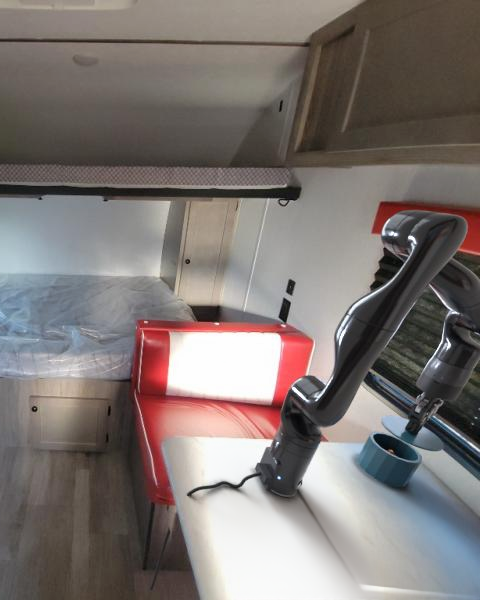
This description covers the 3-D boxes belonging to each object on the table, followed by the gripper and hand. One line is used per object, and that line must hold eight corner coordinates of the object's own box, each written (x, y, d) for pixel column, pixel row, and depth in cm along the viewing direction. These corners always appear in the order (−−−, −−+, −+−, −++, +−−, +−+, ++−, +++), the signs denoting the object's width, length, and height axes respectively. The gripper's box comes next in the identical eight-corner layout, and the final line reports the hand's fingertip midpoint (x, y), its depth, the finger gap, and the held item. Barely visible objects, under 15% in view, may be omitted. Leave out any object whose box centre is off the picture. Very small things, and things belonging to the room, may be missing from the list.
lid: (406, 450, 85) (418, 431, 82) (368, 416, 96) (377, 399, 94) (456, 455, 84) (468, 437, 82) (412, 420, 96) (422, 403, 94)
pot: (376, 486, 95) (392, 460, 92) (347, 454, 106) (360, 429, 102) (416, 490, 95) (433, 464, 92) (383, 457, 106) (397, 433, 102)
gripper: (435, 363, 90) (405, 414, 96) (413, 374, 83) (383, 427, 90) (474, 379, 84) (440, 432, 90) (454, 391, 77) (419, 448, 84)
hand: (412, 430), depth 90 cm, fingers closed on lid, 2 cm apart
